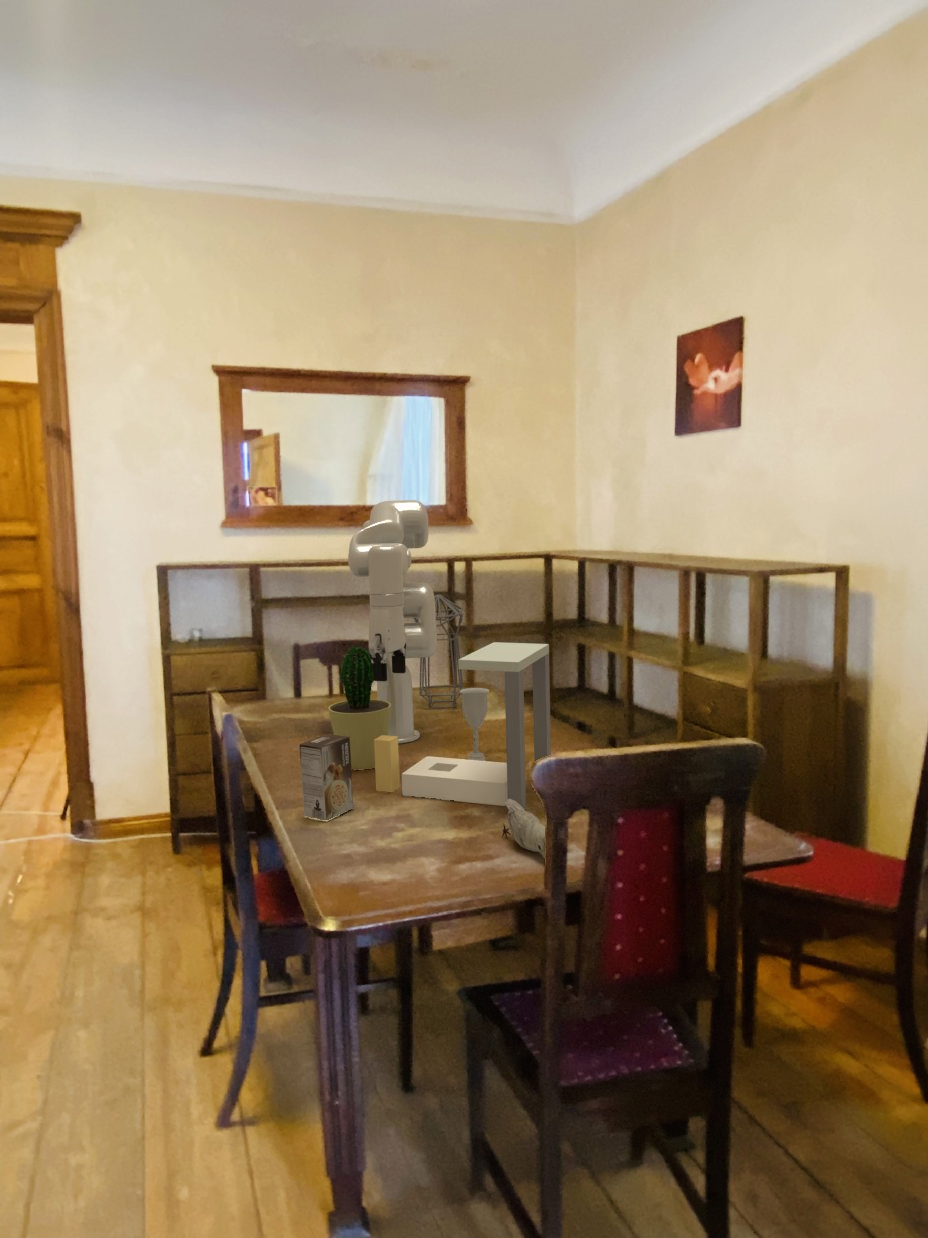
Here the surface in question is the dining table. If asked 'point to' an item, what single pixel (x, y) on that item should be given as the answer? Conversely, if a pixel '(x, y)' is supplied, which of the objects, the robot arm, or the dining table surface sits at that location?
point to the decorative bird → (525, 828)
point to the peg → (387, 763)
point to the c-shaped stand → (519, 703)
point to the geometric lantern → (456, 645)
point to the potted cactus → (359, 709)
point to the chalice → (475, 715)
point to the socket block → (457, 780)
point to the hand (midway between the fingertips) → (389, 676)
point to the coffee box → (326, 776)
